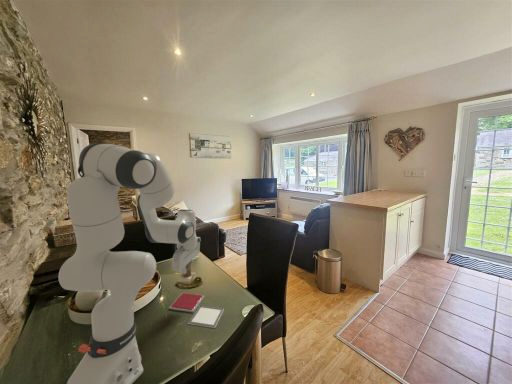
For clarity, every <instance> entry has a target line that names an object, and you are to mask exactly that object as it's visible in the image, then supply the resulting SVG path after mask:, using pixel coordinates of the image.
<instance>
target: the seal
mask: <svg viewBox="0 0 512 384" xmlns="http://www.w3.org/2000/svg"><path fill="white" fill-rule="evenodd" d="M202 280H203V279H202V277H201V276H196V278H195V279H194V280H193V281H192V282H191V283H190V284H186V283H178V281H176V282H175V285H176V286H177V288H179V289H184V290H188V289H194V288H198V287H200V286H201V285H203V282H204V281H202Z"/></svg>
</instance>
